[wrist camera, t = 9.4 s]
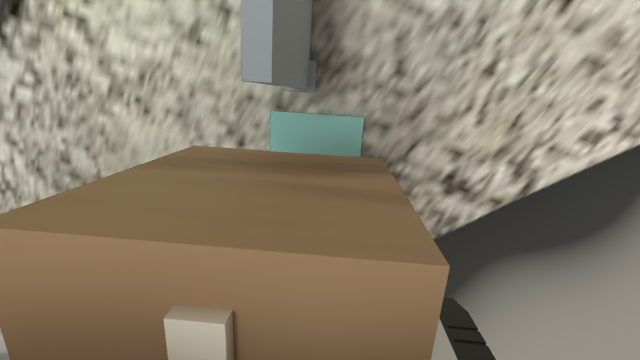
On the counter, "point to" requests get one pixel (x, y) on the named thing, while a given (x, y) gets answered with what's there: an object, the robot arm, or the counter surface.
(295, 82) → the screen
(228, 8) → the counter surface
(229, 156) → the cube
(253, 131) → the counter surface
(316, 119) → the mat
